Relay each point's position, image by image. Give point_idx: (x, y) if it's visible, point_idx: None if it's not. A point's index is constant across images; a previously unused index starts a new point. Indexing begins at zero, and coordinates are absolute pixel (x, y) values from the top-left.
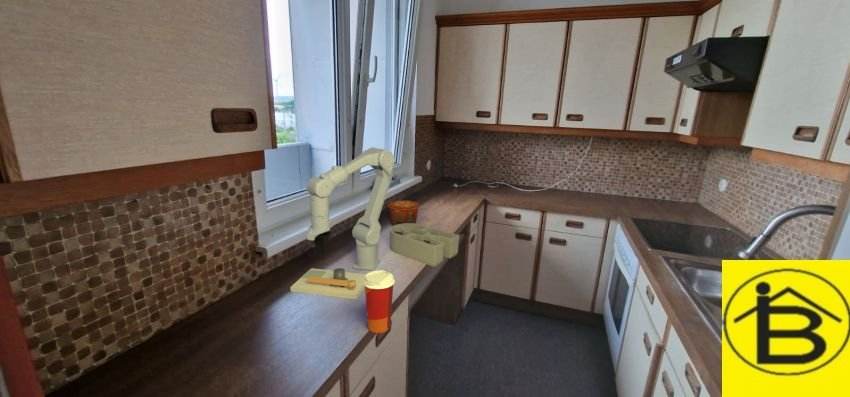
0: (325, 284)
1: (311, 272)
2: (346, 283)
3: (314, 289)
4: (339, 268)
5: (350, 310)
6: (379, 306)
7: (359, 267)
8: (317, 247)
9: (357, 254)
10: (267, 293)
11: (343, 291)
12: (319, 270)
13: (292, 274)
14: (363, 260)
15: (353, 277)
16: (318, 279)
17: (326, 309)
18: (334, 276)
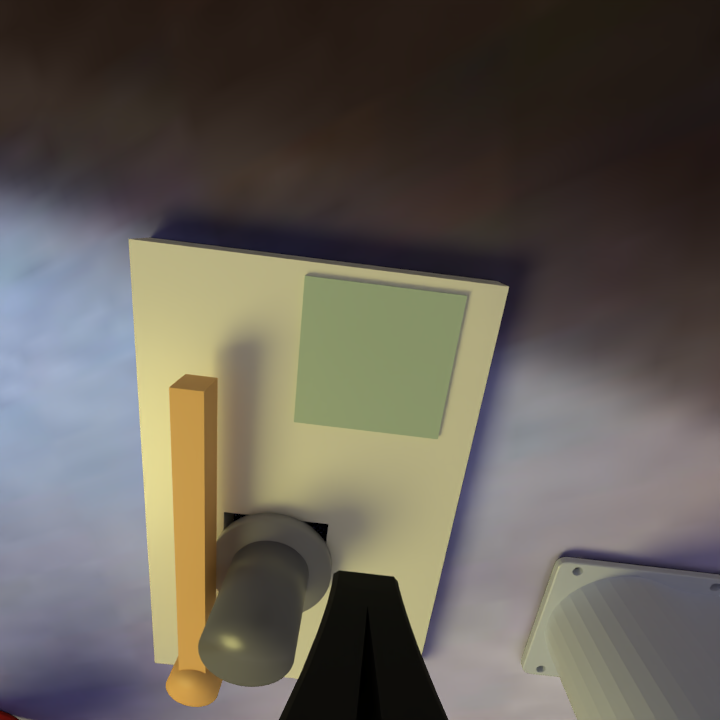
0: (236, 483)
1: (412, 322)
2: (181, 654)
3: (147, 436)
4: (288, 647)
5: (62, 629)
6: None
7: (555, 601)
8: (312, 681)
9: (637, 685)
10: (63, 40)
11: (174, 600)
12: (465, 371)
13: (447, 112)
14: (573, 683)
15: None
16: (174, 483)
17: (26, 530)
18: (219, 595)
